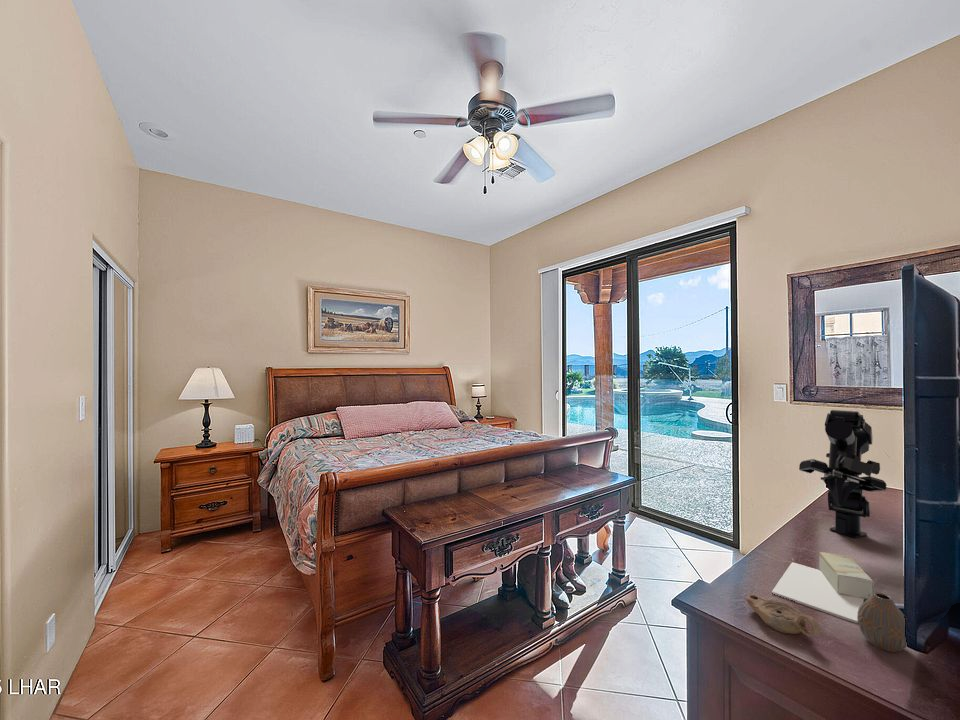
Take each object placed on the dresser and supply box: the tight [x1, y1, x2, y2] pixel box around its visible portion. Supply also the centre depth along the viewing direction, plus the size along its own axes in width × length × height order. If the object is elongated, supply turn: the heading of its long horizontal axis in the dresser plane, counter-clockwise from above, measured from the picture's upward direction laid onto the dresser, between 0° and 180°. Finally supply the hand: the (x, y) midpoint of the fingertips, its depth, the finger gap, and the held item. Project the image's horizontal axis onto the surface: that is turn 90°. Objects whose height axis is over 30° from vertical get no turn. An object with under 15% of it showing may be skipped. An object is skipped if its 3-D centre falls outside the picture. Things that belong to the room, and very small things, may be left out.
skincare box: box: [818, 551, 875, 600], centre depth 93 cm, size 6×4×12 cm
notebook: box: [771, 561, 865, 625], centre depth 91 cm, size 20×14×1 cm
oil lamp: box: [746, 594, 821, 638], centre depth 79 cm, size 13×8×5 cm, turn 14°
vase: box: [857, 592, 908, 653], centre depth 74 cm, size 7×7×9 cm
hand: (839, 505), depth 112 cm, fingers closed
